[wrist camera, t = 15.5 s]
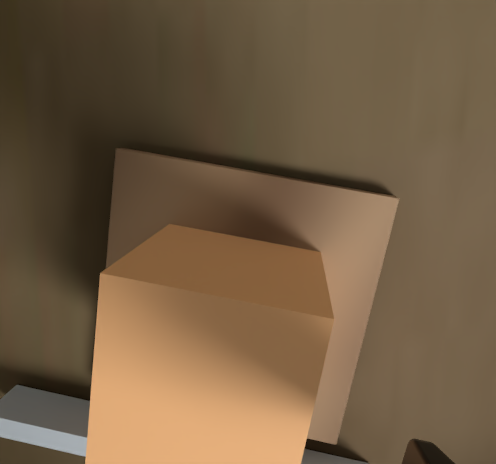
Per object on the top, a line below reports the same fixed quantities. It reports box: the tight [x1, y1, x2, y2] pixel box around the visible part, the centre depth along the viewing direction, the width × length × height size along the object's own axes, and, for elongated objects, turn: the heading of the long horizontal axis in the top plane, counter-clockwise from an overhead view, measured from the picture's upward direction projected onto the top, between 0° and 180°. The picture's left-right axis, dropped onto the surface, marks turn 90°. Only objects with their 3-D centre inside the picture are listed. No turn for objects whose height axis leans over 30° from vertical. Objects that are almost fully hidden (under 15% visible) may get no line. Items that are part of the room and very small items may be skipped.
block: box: [85, 224, 334, 464], centre depth 12 cm, size 5×5×5 cm
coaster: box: [106, 148, 399, 445], centre depth 14 cm, size 9×9×1 cm
